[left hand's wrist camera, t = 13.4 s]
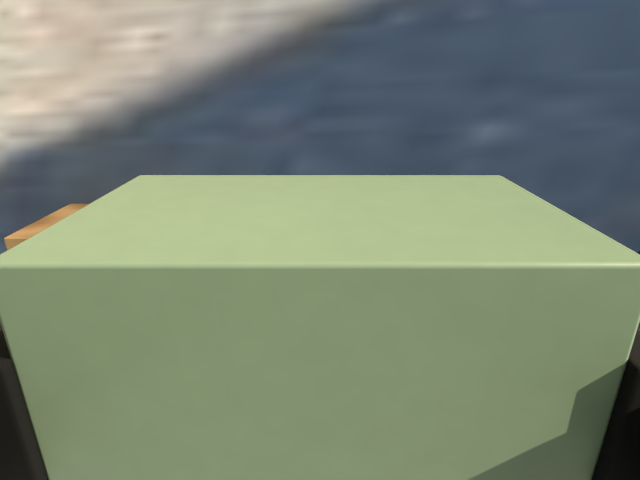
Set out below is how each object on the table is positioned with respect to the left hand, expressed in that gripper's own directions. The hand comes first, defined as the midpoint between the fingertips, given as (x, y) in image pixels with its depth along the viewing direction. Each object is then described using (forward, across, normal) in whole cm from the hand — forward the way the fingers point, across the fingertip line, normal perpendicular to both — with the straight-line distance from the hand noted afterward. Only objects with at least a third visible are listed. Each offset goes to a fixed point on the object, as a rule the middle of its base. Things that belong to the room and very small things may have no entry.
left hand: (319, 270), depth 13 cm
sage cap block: (0, 0, 0) cm, 0 cm away
